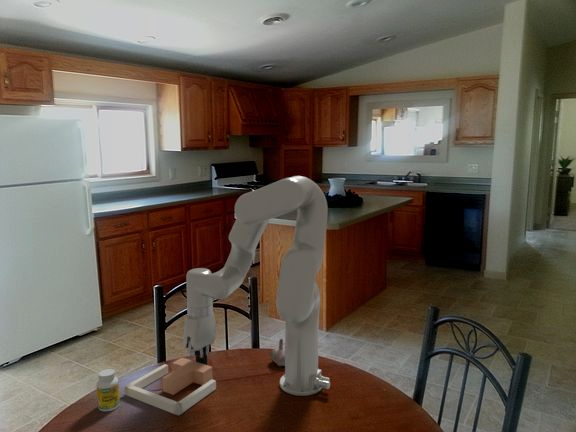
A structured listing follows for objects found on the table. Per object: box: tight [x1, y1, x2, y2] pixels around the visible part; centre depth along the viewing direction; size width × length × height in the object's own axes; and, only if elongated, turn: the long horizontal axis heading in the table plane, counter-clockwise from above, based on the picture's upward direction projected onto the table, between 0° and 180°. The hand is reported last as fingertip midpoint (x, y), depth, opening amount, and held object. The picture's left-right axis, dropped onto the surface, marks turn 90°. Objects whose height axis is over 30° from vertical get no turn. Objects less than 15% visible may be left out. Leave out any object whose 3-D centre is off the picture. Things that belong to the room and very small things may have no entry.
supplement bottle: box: [96, 368, 121, 412], centre depth 117 cm, size 5×5×10 cm
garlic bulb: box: [270, 338, 285, 367], centre depth 141 cm, size 8×7×8 cm
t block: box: [161, 357, 214, 396], centre depth 129 cm, size 12×12×4 cm
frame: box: [124, 363, 217, 417], centre depth 124 cm, size 20×15×2 cm
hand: (201, 367), depth 136 cm, fingers closed
